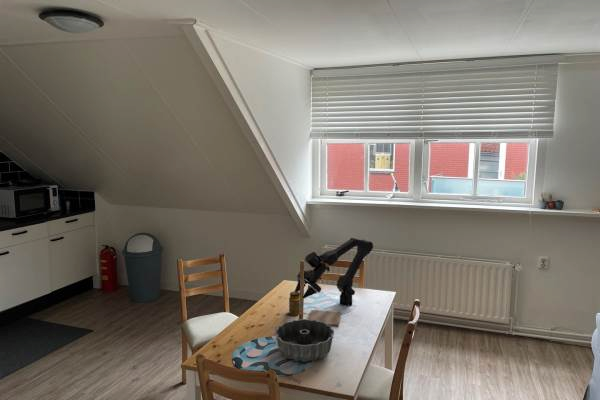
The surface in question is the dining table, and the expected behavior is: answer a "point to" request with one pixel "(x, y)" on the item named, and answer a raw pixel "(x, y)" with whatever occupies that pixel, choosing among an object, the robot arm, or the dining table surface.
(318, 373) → the dining table surface
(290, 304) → the condiment
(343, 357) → the dining table surface
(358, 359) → the dining table surface
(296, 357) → the bundt pan
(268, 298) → the dining table surface
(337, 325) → the walnut board
